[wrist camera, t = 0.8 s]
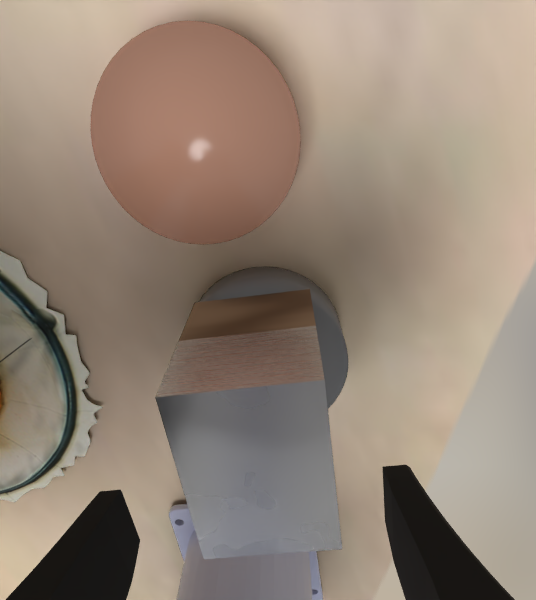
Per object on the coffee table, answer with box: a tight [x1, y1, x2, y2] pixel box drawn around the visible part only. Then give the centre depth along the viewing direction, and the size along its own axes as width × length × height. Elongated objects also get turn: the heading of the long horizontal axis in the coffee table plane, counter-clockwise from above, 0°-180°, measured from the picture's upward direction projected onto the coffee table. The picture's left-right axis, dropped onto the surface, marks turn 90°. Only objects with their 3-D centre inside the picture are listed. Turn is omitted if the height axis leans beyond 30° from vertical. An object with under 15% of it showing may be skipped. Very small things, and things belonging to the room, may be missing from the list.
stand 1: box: [91, 21, 301, 244], centre depth 16 cm, size 7×7×2 cm
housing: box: [155, 289, 342, 559], centre depth 16 cm, size 4×6×6 cm
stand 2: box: [199, 267, 348, 408], centre depth 19 cm, size 7×7×2 cm
